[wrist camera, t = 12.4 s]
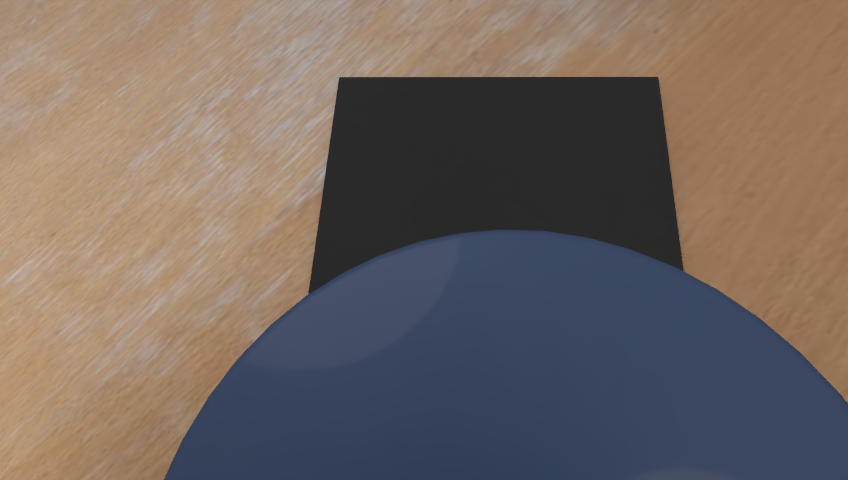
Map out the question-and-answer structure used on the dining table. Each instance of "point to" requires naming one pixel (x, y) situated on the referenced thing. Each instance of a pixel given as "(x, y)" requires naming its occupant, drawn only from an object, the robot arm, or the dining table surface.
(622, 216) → the mat
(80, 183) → the dining table surface
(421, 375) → the blue cylinder
